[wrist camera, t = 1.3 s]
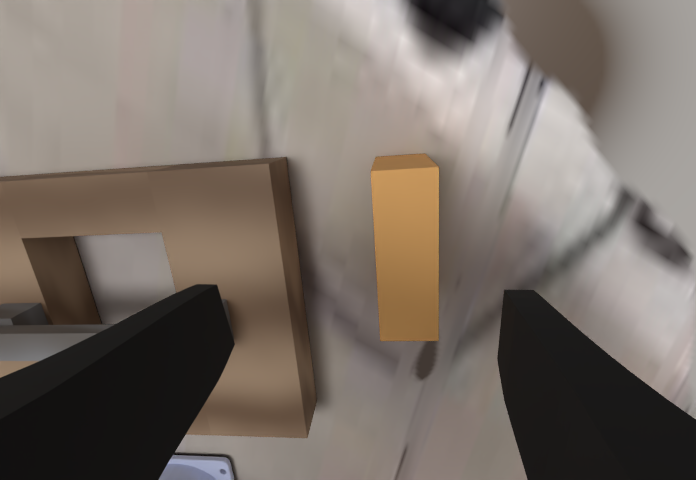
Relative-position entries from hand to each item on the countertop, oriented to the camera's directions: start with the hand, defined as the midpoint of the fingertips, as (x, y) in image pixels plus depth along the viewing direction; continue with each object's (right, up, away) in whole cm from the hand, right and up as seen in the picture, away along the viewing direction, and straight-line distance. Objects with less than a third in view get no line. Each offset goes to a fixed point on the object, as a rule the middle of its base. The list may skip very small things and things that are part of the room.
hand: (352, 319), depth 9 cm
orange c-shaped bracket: (+3, +3, +11) cm, 11 cm away
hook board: (-13, -1, +14) cm, 19 cm away
